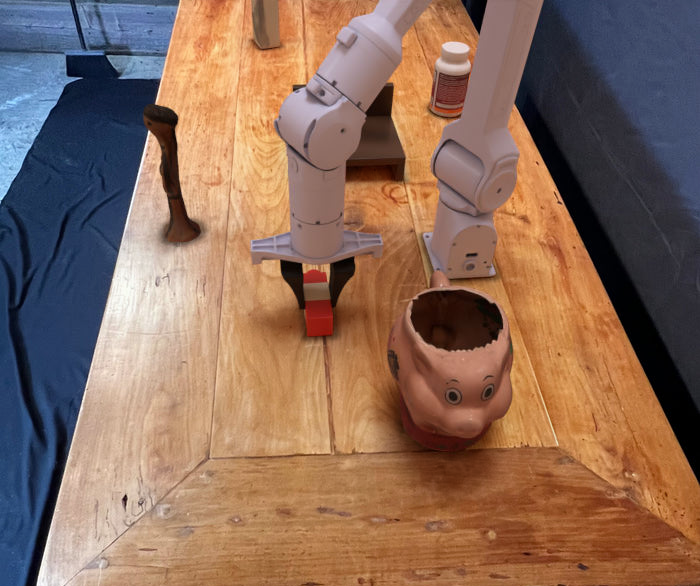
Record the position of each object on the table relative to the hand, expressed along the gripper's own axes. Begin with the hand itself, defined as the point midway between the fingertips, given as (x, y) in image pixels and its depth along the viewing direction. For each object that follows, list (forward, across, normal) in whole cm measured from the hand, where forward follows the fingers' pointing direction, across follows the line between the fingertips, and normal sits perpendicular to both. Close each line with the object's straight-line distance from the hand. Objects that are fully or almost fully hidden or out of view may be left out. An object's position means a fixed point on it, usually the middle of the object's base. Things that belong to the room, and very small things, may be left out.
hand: (317, 303), depth 75 cm
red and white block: (+2, 0, 0) cm, 2 cm away
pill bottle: (+2, -28, -50) cm, 57 cm away
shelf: (+2, -8, -35) cm, 36 cm away
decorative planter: (+2, -12, +15) cm, 19 cm away
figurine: (+2, +17, -18) cm, 25 cm away
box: (+2, +3, -80) cm, 80 cm away
